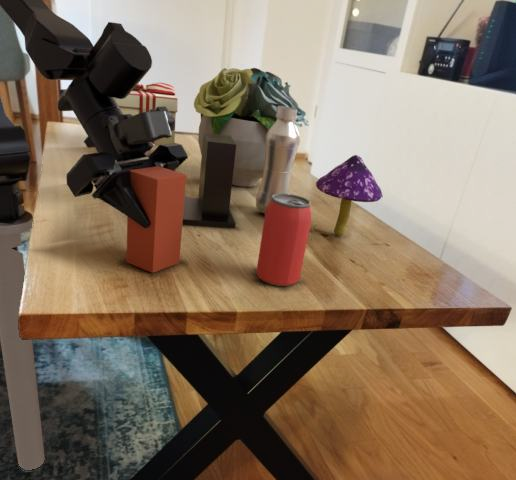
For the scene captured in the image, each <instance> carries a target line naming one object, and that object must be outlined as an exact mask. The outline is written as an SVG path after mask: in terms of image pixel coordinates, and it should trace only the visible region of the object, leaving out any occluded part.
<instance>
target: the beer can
mask: <svg viewBox="0 0 516 480" xmlns="http://www.w3.org/2000/svg"><path fill="white" fill-rule="evenodd" d="M311 205H312V202H311V201H310V200H309V199H307V198H305V197H304V196H301V195H296V194H293V193H289V194H274V195H273V196H272V197H271V201H270V203H269V204H268V206H267V209H266V212H265V214H264V219H263V226H262V231H261V239H260V245H259V253H258V258H257V259H258V260H257V265H256V271H255V273H256V275H257V277H258V278H259V279H260V281H262V282H264V283H266V284H269V285H271V286H275V287H276V286H277V287H291V286H294V285H295V284H297V283H298V282H299V281H300V278H301V274H302V268H303V263H304V260H305V254H306V248H307V244H308V238H309V234H310V229H311V224H312V210H311Z"/></svg>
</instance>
